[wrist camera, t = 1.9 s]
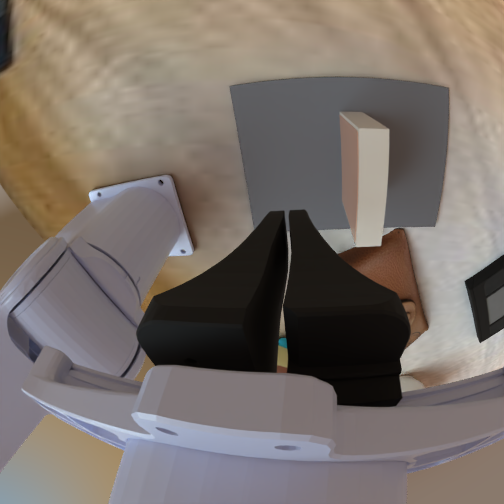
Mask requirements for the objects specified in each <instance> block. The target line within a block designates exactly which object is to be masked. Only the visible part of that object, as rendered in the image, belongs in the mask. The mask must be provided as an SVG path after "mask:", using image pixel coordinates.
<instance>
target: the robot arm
mask: <svg viewBox="0 0 504 504" xmlns="http://www.w3.org/2000/svg"><path fill="white" fill-rule="evenodd" d="M160 180H162V181H163V183H164V184H162V183H161V182H160ZM100 193H101V194H100ZM89 197H90V200H91V203H90V204H89V205H88V206H86V207H85V208H84V209H83V210H82V211H81V212H80V213H79V214H78V215H76V216H75V217H74V218H73V219H72V220H71V221H70V222H69V223H68V224H67V225H66V226H65V227H64V228H63V229H62V230H61V231H60V232H59V233H58V234H57V235H56V237H50V238H49V239H48V240H46V241H45V242H44V243H43V244H42V245H41V246H40V247H39V248H37V249H36V250H35V251H34V252H33V253H32V254H31V255H30V256H29V257H28V258H27V259H26V260H25V262H24V263H23V264H22V265H21V266H20V267H19V268H18V269H17V270H16V271H15V273H14V274H13V275H12V276H11V277H10V279H9V280H8V281H7V282H6V284H5V285H4V286H3V288H2V289H1V291H0V472H1V471H2V470H3V469H4V467H5V466H6V465H7V463H8V462H9V461H10V459H11V458H12V456H13V455H14V454H15V453H16V452H17V450H18V449H19V448H20V446H21V445H22V444H23V443H24V441H25V440H26V439H27V438H28V436H29V435H30V434H31V433H32V431H33V430H34V429H35V428H36V426H37V425H38V424H39V423H40V422H41V420H42V419H43V418H44V416H46V415H47V414H53V415H54V416H56V417H57V418H59V419H61V420H63V421H64V422H66V423H68V424H70V425H72V426H74V427H75V428H77V429H79V430H81V431H83V432H86V433H87V434H89V435H91V436H93V437H95V438H98V439H100V440H102V441H104V442H106V443H108V444H110V445H113V446H115V447H117V448H120V449H122V450H124V454H123V457H122V460H121V463H120V466H119V469H118V472H117V476H116V479H115V482H114V486H113V489H112V492H111V496H110V499H109V503H108V504H407V474H408V473H412V472H416V471H419V470H423V469H426V468H430V467H433V466H436V465H440V464H442V463H446V462H448V461H451V460H454V459H457V458H460V457H462V456H465V455H467V454H470V453H472V452H475V451H477V450H479V449H482V448H484V447H486V446H488V445H490V444H493V443H495V442H497V441H499V440H501V439H503V438H504V367H503V368H501V369H498V370H495V371H492V372H489V373H485V374H482V375H479V376H475V377H472V378H468V379H464V380H460V381H456V382H452V383H448V384H443V385H439V386H434V387H429V388H424V389H418V390H412V391H406V392H402V390H401V384H400V377H399V374H400V373H401V370H402V368H401V363H400V358H401V356H402V354H403V352H404V350H405V347H406V345H407V343H408V341H409V339H410V335H411V327H410V322H409V319H408V316H407V313H406V311H405V308H404V306H403V304H402V302H401V300H400V298H399V296H398V294H397V293H396V292H394V291H392V290H390V289H388V288H386V287H384V286H382V285H380V284H378V283H376V282H374V281H373V280H371V279H369V278H368V277H366V276H365V275H363V274H361V273H360V272H359V271H357V270H356V269H354V268H353V267H352V266H351V265H349V264H348V263H347V262H345V261H344V260H343V259H342V258H341V257H340V256H339V255H338V254H337V253H336V252H335V251H334V250H333V249H332V248H331V247H330V246H329V245H328V243H327V242H326V241H325V240H324V239H323V237H322V236H321V235H320V233H319V232H318V230H317V229H316V228H315V226H314V224H313V223H312V221H311V219H310V217H309V215H308V212H307V211H306V210H305V209H303V210H290V211H289V216H288V217H289V228H290V240H291V252H292V253H291V263H290V272H289V279H288V285H287V290H286V295H285V300H284V304H283V299H284V293H285V286H286V280H287V273H288V242H287V231H286V221H285V211H284V210H283V211H270V212H269V213H268V214H267V215H266V216H265V217H264V219H263V220H262V221H261V222H260V224H259V225H258V226H257V227H256V228H255V230H254V231H253V232H252V233H251V234H250V235H249V236H248V237H247V239H246V240H245V241H244V242H243V243H242V244H241V245H240V246H239V247H237V248H236V249H235V250H234V251H233V252H232V253H231V254H229V255H228V256H227V257H226V258H224V259H223V260H222V261H220V262H219V263H217V264H216V265H214V266H213V267H211V268H210V269H208V270H207V271H205V272H204V273H202V274H200V275H199V276H197V277H195V278H193V279H191V280H189V281H188V282H186V283H184V284H182V285H179V286H177V287H175V288H173V289H170V290H168V291H165V292H163V293H161V294H158V295H156V296H154V297H153V299H152V300H151V302H150V304H149V306H148V308H147V310H146V312H145V314H144V312H143V311H142V310H141V307H140V306H141V304H142V303H143V301H144V299H145V297H146V295H147V293H148V291H149V290H150V288H151V286H152V284H153V282H154V281H155V279H156V277H157V275H158V273H159V272H160V270H161V268H162V266H163V265H164V263H165V261H166V259H167V258H168V256H185V255H192V254H193V252H194V248H193V244H192V241H191V238H190V235H189V232H188V229H187V225H186V222H185V219H184V216H183V212H182V209H181V206H180V202H179V199H178V196H177V192H176V189H175V185H174V182H173V179H172V177H171V176H170V175H162V176H156V177H151V178H145V179H140V180H135V181H130V182H126V183H121V184H116V185H112V186H108V187H103V188H99V189H95V190H92V191H90V192H89ZM182 249H184V250H185V251H183V250H182ZM282 305H283V311H284V321H285V331H286V341H287V352H288V365H287V373H277V361H278V345H279V330H280V318H281V311H282ZM146 354H147V356H148V357H149V358H150V359H151V361H152V362H153V363H154V365H155V366H154V367H153V368H152V369H150V370H149V371H148V372H147V374H146V376H145V378H144V381H143V382H139V381H134V379H135V378H136V376H137V375H138V373H139V371H140V370H141V368H142V365H143V363H144V359H145V356H146Z"/></svg>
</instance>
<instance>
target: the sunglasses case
mask: <svg viewBox="0 0 504 504" xmlns="http://www.w3.org/2000/svg"><path fill="white" fill-rule="evenodd" d="M338 255H339V256H340V257H341V258H342V259H343V260H344V261H345V262H347V263H348V264H349V265H351V266H352V267H353V268H354V269H356V270H357V271H359V272H360V273H361V274H363V275H365V276H366V277H368V278H369V279H371V280H373V281H374V282H376V283H378V284H380V285H382V286H384V287H386V288H388V289H390V290H392V291H394V292H396V293H397V294H398V296H399V298H400V300H401V302H402V304H403V306H404V308H405V311H406V313H407V316H408V319H409V322H410V327H411V335H410V339H409V341H408V343H407V345H406V347H405V349H406V348H407V347H408V346H409V345H410V344H411V343H413V342H414V341H415V340H416V339H417V338H418V337H419V336H420V335H421V334H422V333H424V332H425V331H427V330H428V324H427V321H426V319H425V316H424V312H423V309H422V305H421V300H420V297H419V292H418V288H417V284H416V280H415V276H414V272H413V267H412V263H411V257H410V252H409V247H408V243H407V238H406V236H405V232H404V230H403V229H401V228H397V229H394V230H393V231H391V232H390V233H388V234H386V235H384V236H382V242H381V246H371V247H354V248H352V249H349V250H347V251H344V252H342V253H340V254H338Z"/></svg>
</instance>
